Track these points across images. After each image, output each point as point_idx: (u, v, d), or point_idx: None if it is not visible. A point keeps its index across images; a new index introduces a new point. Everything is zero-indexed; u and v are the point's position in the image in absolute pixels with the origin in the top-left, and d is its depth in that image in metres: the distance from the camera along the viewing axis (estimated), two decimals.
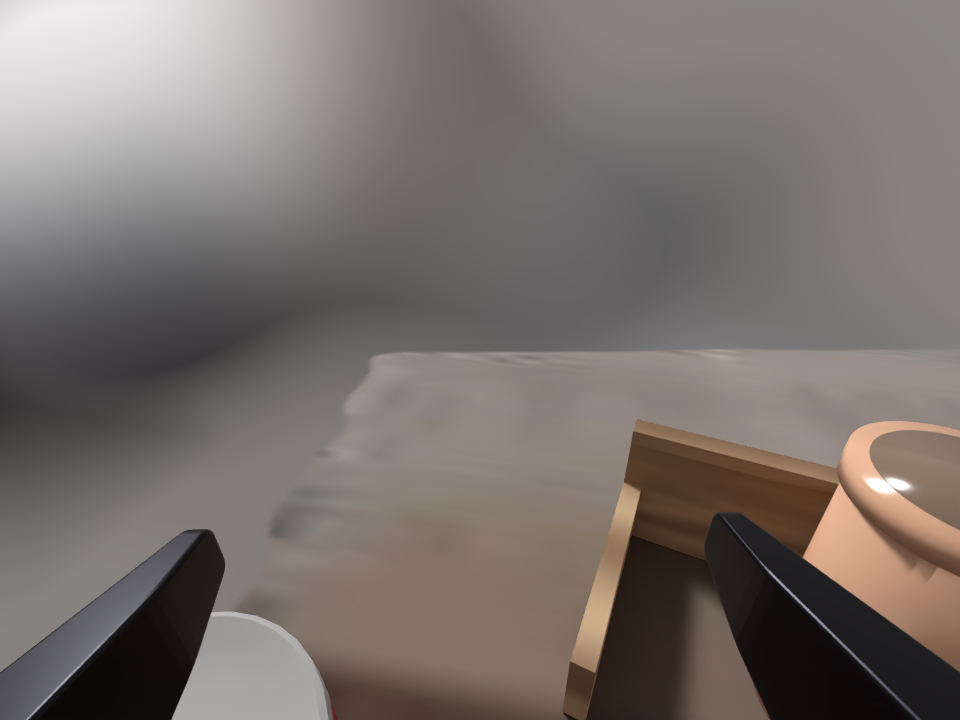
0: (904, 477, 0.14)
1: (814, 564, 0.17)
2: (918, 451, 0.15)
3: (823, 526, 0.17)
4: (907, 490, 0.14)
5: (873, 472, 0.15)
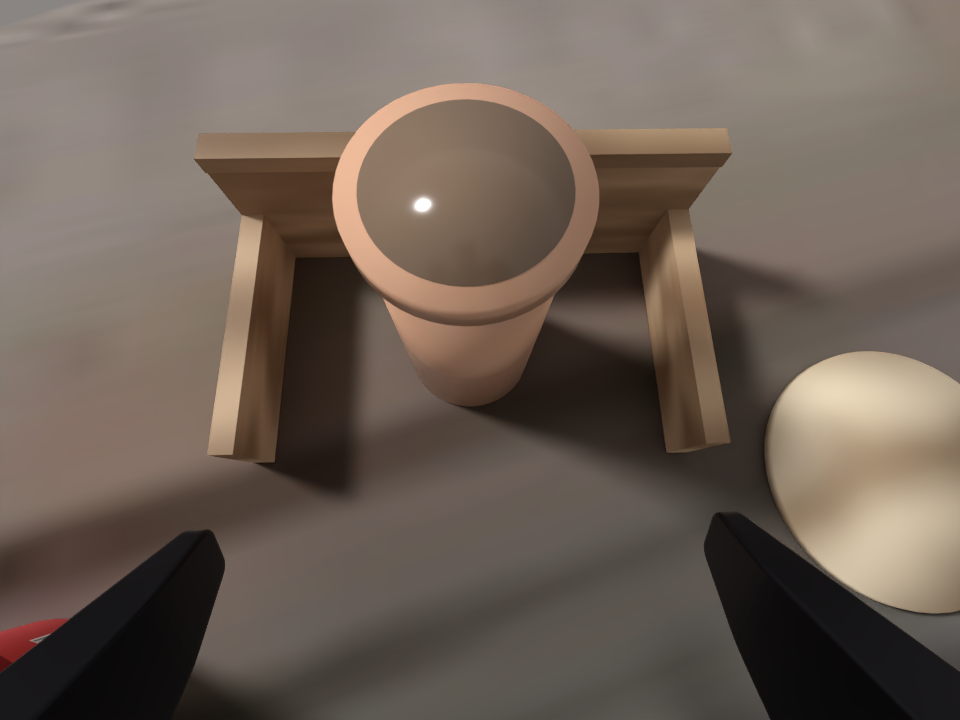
0: (387, 205, 0.11)
1: None
2: (418, 148, 0.12)
3: None
4: (381, 231, 0.11)
5: (352, 212, 0.11)
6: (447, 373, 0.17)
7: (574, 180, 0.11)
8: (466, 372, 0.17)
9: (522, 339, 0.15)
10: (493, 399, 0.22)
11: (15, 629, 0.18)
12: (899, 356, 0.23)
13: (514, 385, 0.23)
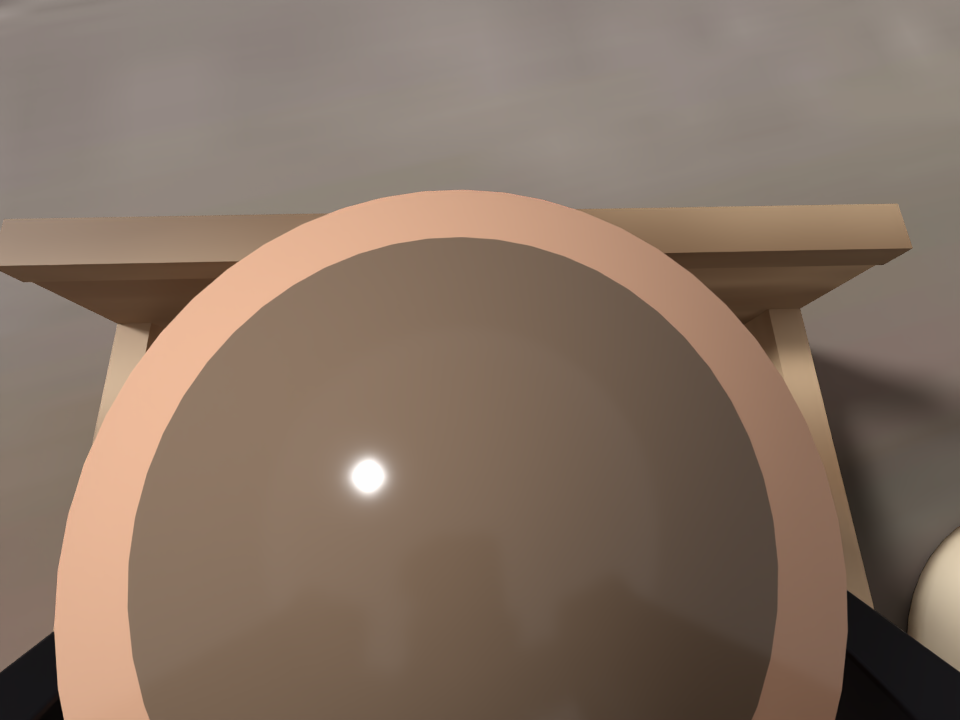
0: (221, 590, 0.04)
1: None
2: (322, 391, 0.04)
3: None
4: (190, 699, 0.03)
5: (109, 622, 0.04)
6: None
7: (764, 492, 0.04)
8: None
9: None
10: None
11: None
12: None
13: None
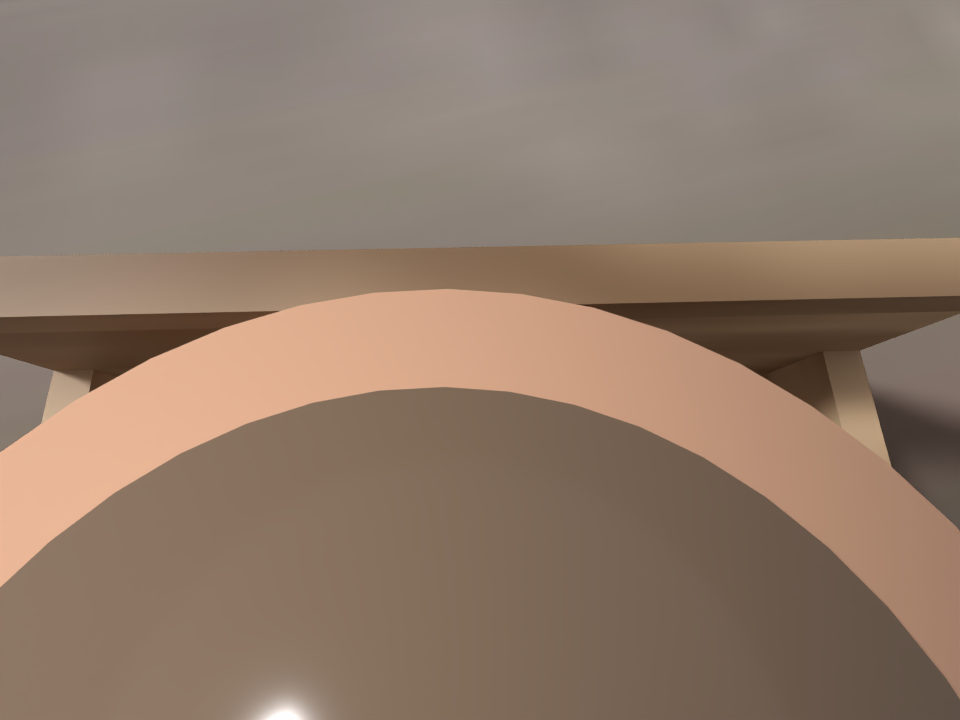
0: None
1: None
2: None
3: None
4: None
5: None
6: None
7: None
8: None
9: None
10: None
11: None
12: None
13: None
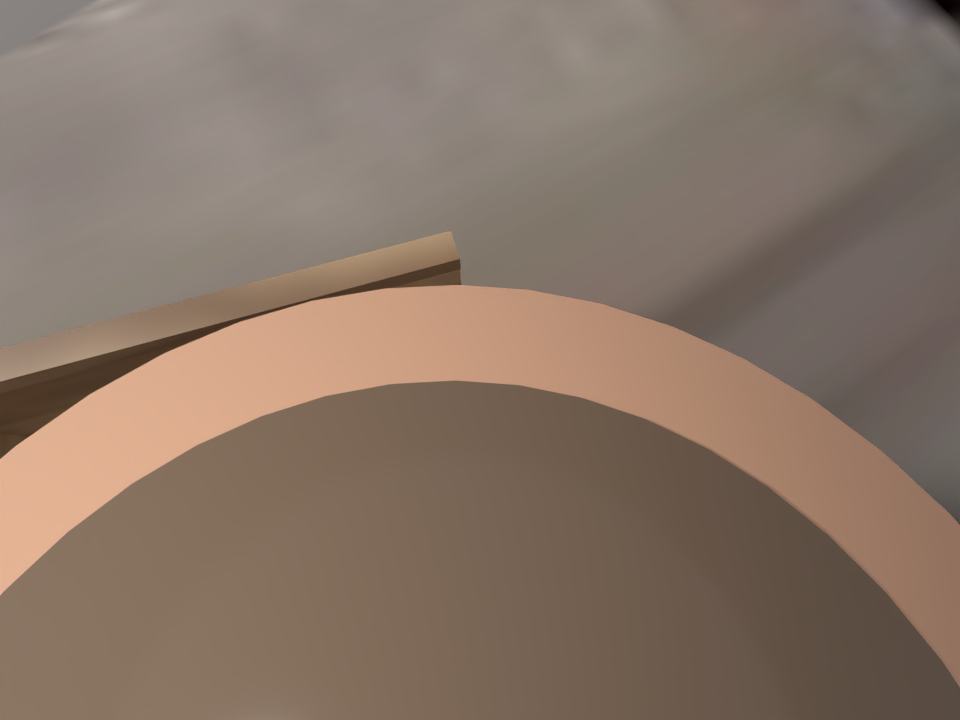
0: None
1: None
2: None
3: None
4: None
5: None
6: None
7: None
8: None
9: None
10: None
11: None
12: None
13: None
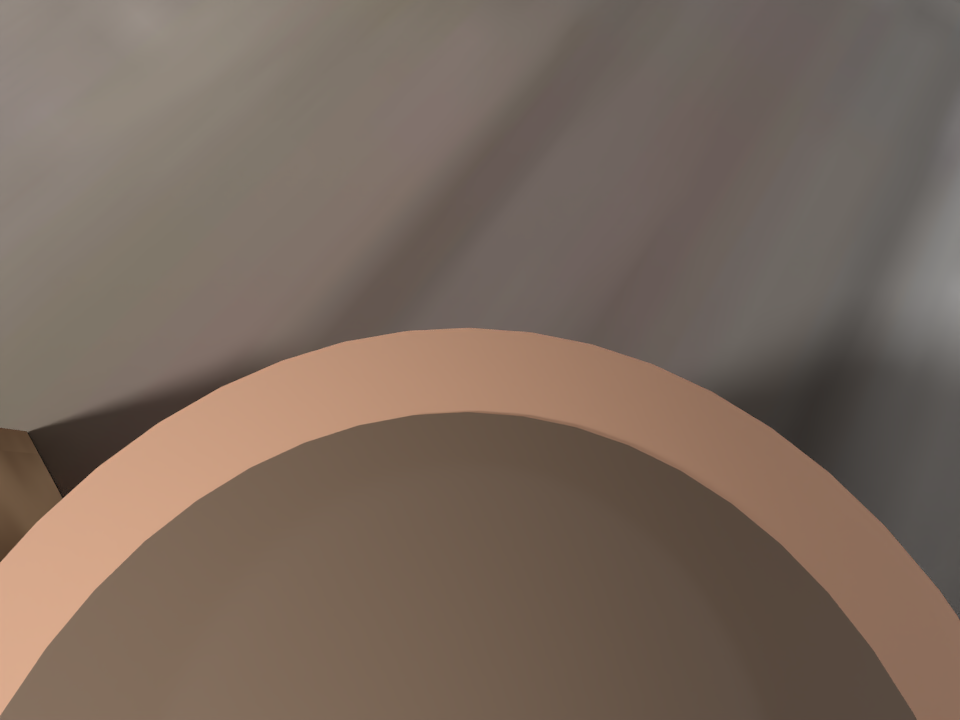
0: None
1: None
2: (235, 701, 0.03)
3: None
4: None
5: None
6: None
7: None
8: None
9: None
10: None
11: None
12: None
13: None
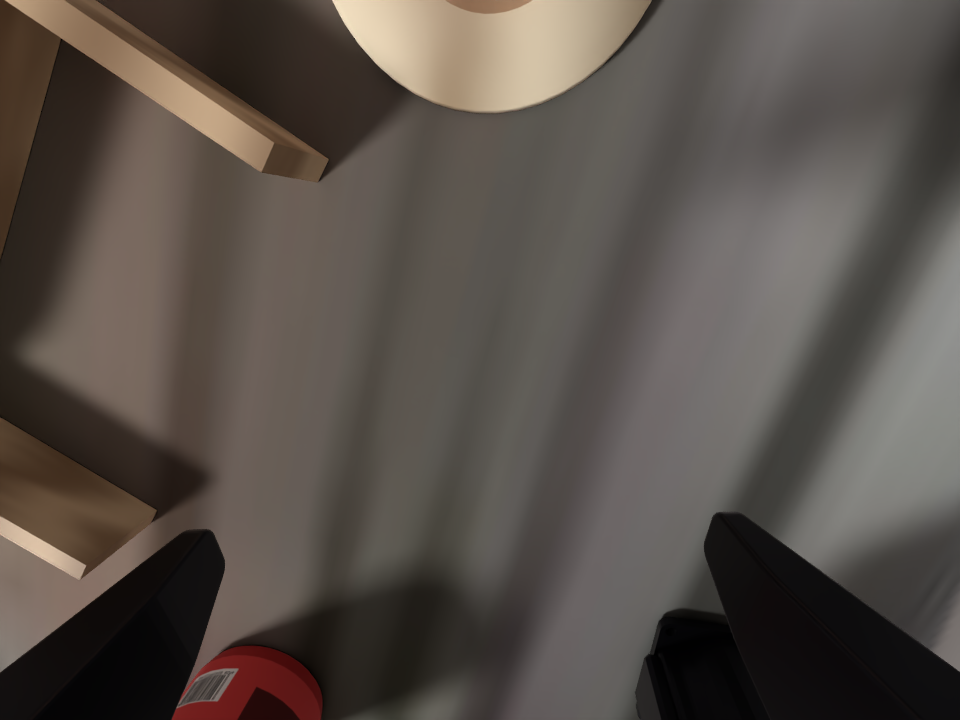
0: None
1: None
2: None
3: None
4: None
5: None
6: None
7: None
8: None
9: None
10: None
11: None
12: None
13: None
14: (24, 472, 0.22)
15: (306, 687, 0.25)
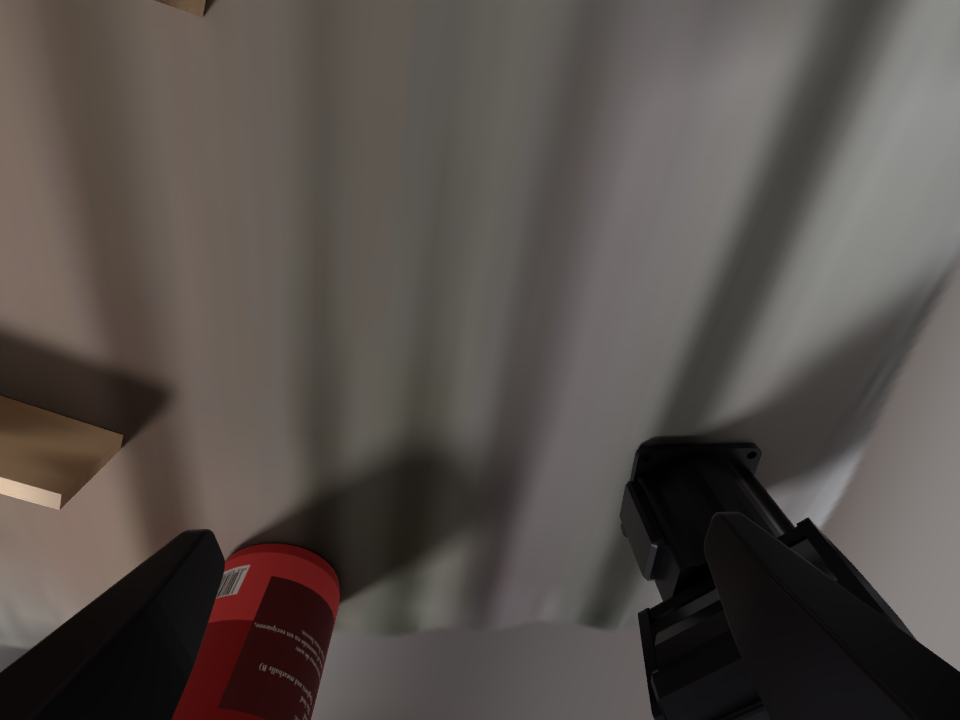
0: None
1: None
2: None
3: None
4: None
5: None
6: None
7: None
8: None
9: None
10: None
11: None
12: None
13: None
14: None
15: (320, 569, 0.27)
